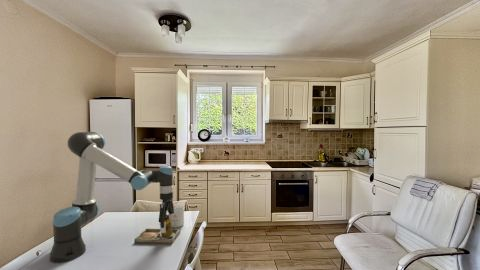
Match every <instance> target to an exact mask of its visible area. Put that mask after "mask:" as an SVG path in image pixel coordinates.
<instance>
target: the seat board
mask: <svg viewBox="0 0 480 270" xmlns="http://www.w3.org/2000/svg"><path fill="white" fill-rule="evenodd" d="M171 229H172V231H173V233H174V234H175V235H173V236H171V237H169V238H166V239H162V238H161V236H160V234H159V232H161V228H145V229H144V230H143V231H142V232H141V233H139V235H137V236H136V237H135V238H134V244H146V245H147V244H148V245H149V244H150V245H151V244H154V245H172V244H173V243H174V242H175V240H176V239H177V238H178V237H179V235H180V233H181V228H171Z"/></svg>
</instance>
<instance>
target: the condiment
mask: <svg viewBox="0 0 480 270" xmlns="http://www.w3.org/2000/svg"><path fill="white" fill-rule="evenodd" d="M165 221H166V233H161V232H159V234H160V236H161V238H162V239H166V238H169V237H171V236H173V235H175V234H174V233H173V231H172V229H173V228H172V226H171V222H170V219H169V216H168V214H167V215H166V217H165ZM159 229H161V224H160V223H159Z"/></svg>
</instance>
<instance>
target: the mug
mask: <svg viewBox="0 0 480 270" xmlns="http://www.w3.org/2000/svg"><path fill="white" fill-rule="evenodd" d="M184 210H185V208H183V207H182V206H177V207H176V206H175V207H174V211H173V212H174V213H172V214H173V224H172V225H171V228H173V229H179V228H181V227H182V226H183V225H184V224H185V211H184ZM166 215H168V210H167V212H166Z"/></svg>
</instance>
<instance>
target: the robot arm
mask: <svg viewBox="0 0 480 270" xmlns="http://www.w3.org/2000/svg"><path fill="white" fill-rule="evenodd" d="M105 146H106V140H105V137H104V136H103V135H102V134H101V133H99V132H96V131H83V132H82V131H78V132H75V133H73V134H71V135H70V137H69V138H68V139H67V148H68V149H69V150H70V151H71V152H72V153H73V154H74V155H75V156H77V157H79V159H78V161H79V162H78V171H77V172H78V173H77V183H76V195H75V199H74V200H73V201H72V202H71V206H69V207H65V208H62V209H60V210H58V211H57V212H56V213H54V215H53V217H52V218H53V219H52V228H53V229H52V230H53V231H52V232H53V245H52V248H51V251H50V254H49V261H50V262H52V263H64V262H65V263H66V262H68V261H72V260H75V259H77V258H79V257H81V256H82V255H83V254H85V253H86V250H87V248H86V247H87V246H86V244H85V242H84V240H83V237H82V228H83V227H85V226H86V225H87V224H89V223H90V222H92V221H93V220H95V218H96V217H97V216H98V213H99V212H100V208H99V205H98V204H97V199H96V198H94V195H95V185H96V184H95V183H96V173H97V166H99V167H101V169H102V168H103V169H104V170H106V171H108V172H110V173H111V174H113V175H115V176H116V177H118V178H120V179H122V180H124V181H125V182H127V183H129V184H130V186H131V188H132V189H134V190H136V191H141V190H143V189H145V188H147V187H148V186H149V185H150V184H154V183H156V184H157V183H159V200H160V201H161V200H162V202H161V203H160V204H159V216H158V223H159V225H160V224H161V228H160V229H161V233H166V221H165V217H166V212H167V211H168V212H167V215H168V216H169V219H170V222H171V225H172V224H173V214H172V213H174V212H173V211H174V208H175V207H174V202H173V201H174V200H173V197H174V192H173V191H174V190H173V189H174V185H173V183H174V181H173V178H174V173H173V167H172V166H171V165H162V166H160V167H159V169H143V170H137V169H136V168H134V167H132V166H131V165H129V164H128V163H125V162H124V161H122V160H120V159H119V158H118V157H115V156H113V155H112V154H111V153H108V152H107V151H105V150H103V149H104V147H105Z"/></svg>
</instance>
